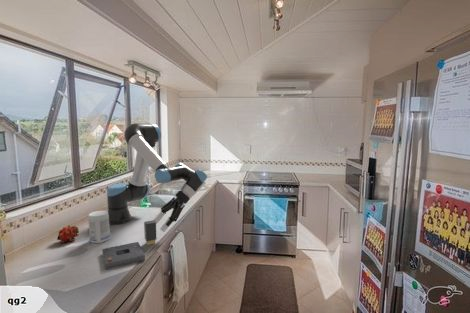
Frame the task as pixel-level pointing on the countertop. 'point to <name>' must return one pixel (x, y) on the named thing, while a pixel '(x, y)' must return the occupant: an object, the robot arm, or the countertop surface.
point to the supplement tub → (99, 226)
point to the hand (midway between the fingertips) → (158, 226)
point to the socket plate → (122, 255)
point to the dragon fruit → (68, 233)
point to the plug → (150, 232)
